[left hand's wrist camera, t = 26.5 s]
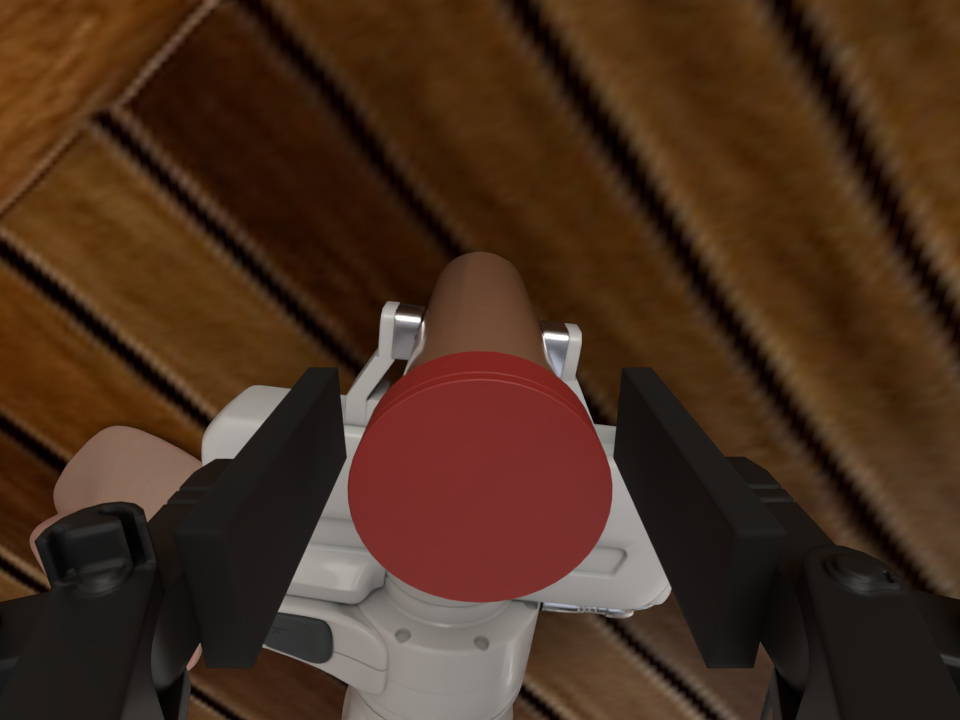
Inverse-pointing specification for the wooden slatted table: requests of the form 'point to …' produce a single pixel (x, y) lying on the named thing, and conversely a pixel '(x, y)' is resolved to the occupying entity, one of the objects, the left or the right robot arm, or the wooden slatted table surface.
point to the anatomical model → (121, 477)
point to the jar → (480, 314)
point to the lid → (480, 479)
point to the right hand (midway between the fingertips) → (481, 316)
